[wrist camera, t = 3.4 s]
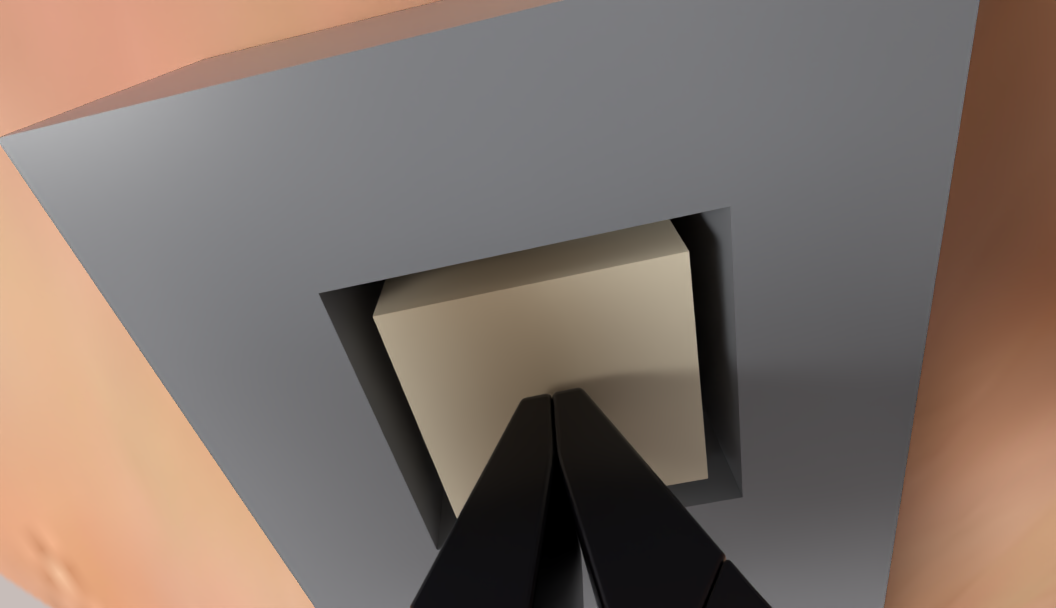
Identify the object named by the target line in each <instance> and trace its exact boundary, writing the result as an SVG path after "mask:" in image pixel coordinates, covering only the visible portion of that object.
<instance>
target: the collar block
mask: <svg viewBox="0 0 1056 608" xmlns="http://www.w3.org/2000/svg"><path fill="white" fill-rule="evenodd" d="M979 2H980V0H441V1H437V2H433V3H429V4H425V5H421V6H417V7H413V8H409V9H405V10H401V11H397V12H393V13H389V14H385V15H381V16H377V17H373V18H369V19H365V20H360V21H356V22H352V23H348V24H344V25H340V26H336V27H332V28H328V29H324V30H320V31H316V32H312V33H308V34H304V35H300V36H296V37H292V38H288V39H284V40H280V41H276V42H272V43H268V44H264V45H260V46H255V47H251V48H247V49H243V50H239V51H235V52H231V53H227V54H223V55H219V56H215V57H211V58H207V59H203V60H200V61H198V62H195V63H192V64H190V65H187V66H185V67H182V68H179V69H177V70H174V71H172V72H169V73H166V74H164V75H161V76H158V77H156V78H153V79H151V80H148V81H145V82H143V83H140V84H138V85H135V86H132V87H130V88H127V89H124V90H122V91H119V92H117V93H114V94H111V95H109V96H106V97H103V98H101V99H98V100H96V101H93V102H90V103H88V104H85V105H83V106H80V107H77V108H75V109H72V110H69V111H67V112H64V113H62V114H59V115H56V116H54V117H51V118H49V119H46V120H43V121H41V122H38V123H35V124H33V125H30V126H28V127H25V128H22V129H20V130H17V131H14V132H12V133H9V134H7V135H4V136H1V137H0V145H1V146H2V148H3V149H4V151H5V152H6V154H7V155H8V157H9V158H10V160H11V161H12V163H13V164H14V165H15V167H16V168H17V170H18V171H19V173H20V174H21V176H22V177H23V179H24V180H25V182H26V183H27V185H28V186H29V188H30V189H31V190H32V192H33V193H34V195H35V196H36V198H37V199H38V201H39V202H40V204H41V205H42V207H43V208H44V210H45V211H46V213H47V214H48V215H49V217H50V218H51V220H52V221H53V223H54V224H55V226H56V227H57V229H58V230H59V232H60V233H61V235H62V236H63V238H64V239H65V241H66V242H67V243H68V245H69V246H70V248H71V249H72V251H73V252H74V254H75V255H76V257H77V258H78V260H79V261H80V263H81V264H82V266H83V267H84V268H85V270H86V271H87V273H88V274H89V276H90V277H91V279H92V280H93V282H94V283H95V285H96V286H97V288H98V289H99V291H100V292H101V293H102V295H103V296H104V298H105V299H106V301H107V302H108V304H109V305H110V307H111V308H112V310H113V311H114V313H115V314H116V316H117V317H118V318H119V320H120V321H121V323H122V324H123V326H124V327H125V329H126V330H127V332H128V333H129V335H130V336H131V338H132V339H133V341H134V342H135V343H136V345H137V346H138V348H139V349H140V351H141V352H142V354H143V355H144V357H145V358H146V360H147V361H148V363H149V364H150V366H151V367H152V368H153V370H154V371H155V373H156V374H157V376H158V377H159V379H160V380H161V382H162V383H163V385H164V386H165V388H166V389H167V391H168V392H169V393H170V395H171V396H172V398H173V399H174V401H175V402H176V404H177V405H178V407H179V408H180V410H181V411H182V413H183V414H184V416H185V417H186V418H187V420H188V421H189V423H190V424H191V426H192V427H193V429H194V430H195V432H196V433H197V435H198V436H199V438H200V439H201V441H202V442H203V443H204V445H205V446H206V448H207V449H208V451H209V452H210V454H211V455H212V457H213V458H214V460H215V461H216V463H217V464H218V466H219V467H220V468H221V470H222V471H223V473H224V474H225V476H226V477H227V479H228V480H229V482H230V483H231V485H232V486H233V488H234V489H235V491H236V492H237V493H238V495H239V496H240V498H241V499H242V501H243V502H244V504H245V505H246V507H247V508H248V510H249V511H250V513H251V514H252V516H253V517H254V518H255V520H256V521H257V523H258V524H259V526H260V527H261V529H262V530H263V532H264V533H265V535H266V536H267V538H268V539H269V541H270V542H271V543H272V545H273V546H274V548H275V549H276V551H277V552H278V554H279V555H280V557H281V558H282V560H283V561H284V563H285V564H286V566H287V567H288V569H289V570H290V571H291V573H292V574H293V576H294V577H295V579H296V580H297V582H298V583H299V585H300V586H301V588H302V589H303V591H304V592H305V594H306V595H307V596H308V598H309V599H310V601H311V602H312V604H313V605H314V607H315V608H410V605H411V604H412V602H413V600H414V598H415V596H416V594H417V592H418V591H419V589H420V587H421V585H422V583H423V581H424V579H425V577H426V576H427V574H428V572H429V570H430V568H431V566H432V564H433V563H434V561H435V559H436V557H437V555H438V553H439V551H440V550H441V548H442V546H443V544H444V542H445V540H446V538H447V537H448V535H449V533H450V531H451V529H452V527H453V525H454V523H455V522H456V520H457V518H456V516H455V513H454V511H453V508H452V506H451V504H450V501H449V499H448V496H447V494H446V492H445V489H444V487H443V484H442V482H441V480H440V477H439V475H438V472H437V470H436V468H435V465H434V463H433V460H432V458H431V456H430V453H429V451H428V448H427V446H426V443H425V441H424V439H423V436H422V434H421V431H420V429H419V427H418V424H417V422H416V419H415V417H414V415H413V412H412V410H411V407H410V405H409V403H408V400H407V398H406V395H405V393H404V391H403V388H402V386H401V383H400V381H399V379H398V376H397V374H396V371H395V369H394V367H393V364H392V362H391V359H390V357H389V355H388V352H387V350H386V347H385V345H384V343H383V340H382V338H381V335H380V333H379V331H378V328H377V326H376V323H375V321H374V319H373V314H374V311H375V308H376V306H377V303H378V300H379V297H380V294H381V291H382V289H383V286H384V283H385V280H386V279H389V278H393V277H398V276H403V275H408V274H412V273H417V272H422V271H427V270H431V269H436V268H441V267H445V266H450V265H455V264H460V263H464V262H469V261H474V260H479V259H483V258H488V257H493V256H498V255H502V254H507V253H512V252H516V251H521V250H526V249H531V248H535V247H540V246H545V245H550V244H554V243H559V242H564V241H569V240H573V239H578V238H583V237H588V236H592V235H597V234H602V233H606V232H611V231H616V230H621V229H625V228H630V227H635V226H640V225H644V224H649V223H654V222H659V221H663V220H668V219H670V221H671V222H672V224H673V226H674V227H675V229H676V231H677V232H678V234H679V236H680V237H681V239H682V240H683V242H684V244H685V245H686V247H687V249H688V250H689V256H690V268H691V280H692V292H693V304H694V316H695V327H696V339H697V351H698V363H699V375H700V386H701V398H702V410H703V422H704V434H705V446H706V457H707V469H708V479H702V480H696V481H691V482H685V483H679V484H674V485H668V486H667V487H668V488H669V490H670V491H671V492H672V493H673V494H674V495H675V497H676V498H677V499H678V500H679V501H680V502H681V504H682V505H683V506H684V507H685V508H686V509H687V511H688V512H689V513H690V514H691V515H692V516H693V518H694V519H695V520H696V521H697V522H698V523H699V525H700V526H701V527H702V528H703V529H704V530H705V532H706V533H707V534H708V535H709V536H710V537H711V539H712V540H713V541H714V542H715V543H716V544H717V546H718V547H719V548H720V549H721V550H722V551H723V553H724V554H725V555H726V560H730V561H732V562H733V564H734V565H735V566H736V567H737V568H738V569H739V571H740V572H741V573H742V574H743V575H744V576H745V578H746V579H747V580H748V581H749V582H750V583H751V585H752V586H753V587H754V588H755V589H756V590H757V591H758V592H759V594H760V595H761V596H762V597H763V598H764V599H765V600H766V601H767V602H768V603H769V604H770V606H771V607H772V608H884V603H885V597H886V591H887V584H888V578H889V572H890V565H891V559H892V553H893V546H894V540H895V534H896V527H897V521H898V515H899V508H900V502H901V496H902V489H903V483H904V477H905V470H906V464H907V458H908V451H909V445H910V439H911V432H912V426H913V420H914V413H915V407H916V401H917V394H918V388H919V382H920V375H921V369H922V363H923V356H924V350H925V344H926V337H927V331H928V325H929V318H930V312H931V306H932V299H933V293H934V287H935V280H936V274H937V268H938V261H939V255H940V249H941V242H942V236H943V230H944V223H945V217H946V211H947V204H948V198H949V192H950V185H951V179H952V173H953V166H954V160H955V154H956V147H957V141H958V135H959V128H960V122H961V116H962V109H963V103H964V97H965V90H966V84H967V78H968V71H969V65H970V59H971V52H972V46H973V40H974V33H975V27H976V21H977V14H978V8H979ZM580 548H581V546H580ZM581 556H582V572H583V600H584V608H597V604H596V601H595V597H594V594H593V590H592V587H591V583H590V580H589V576H588V573H587V569H586V565H585V561H584V558H583V554H582V550H581Z"/></svg>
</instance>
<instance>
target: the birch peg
mask: <svg viewBox="0 0 1056 608" xmlns="http://www.w3.org/2000/svg"><path fill="white" fill-rule="evenodd" d="M373 319H374V321H375V323H376V326H377V328H378V331H379V333H380V335H381V338H382V340H383V343H384V345H385V347H386V350H387V352H388V355H389V357H390V359H391V362H392V364H393V367H394V369H395V371H396V374H397V376H398V379H399V381H400V383H401V386H402V388H403V391H404V393H405V395H406V398H407V400H408V403H409V405H410V407H411V410H412V412H413V415H414V417H415V419H416V422H417V424H418V427H419V429H420V431H421V434H422V436H423V439H424V441H425V443H426V446H427V448H428V451H429V453H430V456H431V458H432V460H433V463H434V465H435V468H436V470H437V472H438V475H439V477H440V480H441V482H442V484H443V487H444V489H445V492H446V494H447V496H448V499H449V501H450V504H451V506H452V508H453V511H454V513H455V516H456V518H458V516H459V514H460V512H461V510H462V509H463V507H464V505H465V503H466V501H467V499H468V497H469V496H470V494H471V492H472V490H473V488H474V486H475V484H476V482H477V481H478V479H479V477H480V475H481V473H482V471H483V469H484V468H485V466H486V464H487V462H488V460H489V458H490V456H491V455H492V453H493V451H494V449H495V447H496V445H497V443H498V442H499V440H500V438H501V436H502V434H503V432H504V430H505V428H506V427H507V425H508V423H509V421H510V419H511V417H512V415H513V414H514V412H515V410H516V408H517V406H518V404H519V402H520V401H521V400H522V399H523V398H526V397H530V396H536V395H541V394H550V395H551V396H552V397H553V394H554V393H555V392H557V391H562V390H567V389H572V388H582V389H583V390H585V392H586V393H587V394H588V395H589V396H590V397H591V399H592V400H593V401H594V402H595V403H596V404H597V406H598V407H599V408H600V409H601V410H602V411H603V413H604V414H605V415H606V416H607V417H608V418H609V420H610V421H611V422H612V423H613V424H614V425H615V427H616V428H617V429H618V430H619V431H620V432H621V434H622V435H623V436H624V437H625V438H626V439H627V441H628V442H629V443H630V444H631V445H632V446H633V448H634V449H635V450H636V451H637V452H638V453H639V455H640V456H641V457H642V458H643V459H644V460H645V462H646V463H647V464H648V465H649V466H650V467H651V469H652V470H653V471H654V472H655V473H656V474H657V476H658V477H659V478H660V479H661V480H662V481H663V483H664V484H665V485H666V486H668V485H674V484H679V483H685V482H691V481H696V480H702V479H708V469H707V457H706V446H705V434H704V422H703V410H702V398H701V386H700V375H699V363H698V351H697V339H696V327H695V316H694V304H693V292H692V280H691V268H690V256H689V250H688V249H687V247H686V245H685V244H684V242H683V240H682V239H681V237H680V236H679V234H678V232H677V231H676V229H675V227H674V226H673V224H672V222H671V221H670V219H668V220H663V221H659V222H654V223H649V224H644V225H640V226H635V227H630V228H625V229H621V230H616V231H611V232H606V233H602V234H597V235H592V236H588V237H583V238H578V239H573V240H569V241H564V242H559V243H554V244H550V245H545V246H540V247H535V248H531V249H526V250H521V251H516V252H512V253H507V254H502V255H498V256H493V257H488V258H483V259H479V260H474V261H469V262H464V263H460V264H455V265H450V266H445V267H441V268H436V269H431V270H427V271H422V272H417V273H412V274H408V275H403V276H398V277H393V278H389V279H386V280H385V283H384V286H383V289H382V291H381V294H380V297H379V300H378V303H377V306H376V308H375V311H374V314H373Z"/></svg>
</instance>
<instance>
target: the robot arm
mask: <svg viewBox="0 0 1056 608" xmlns="http://www.w3.org/2000/svg"><path fill="white" fill-rule="evenodd" d="M580 546H581V548H580ZM581 550H582V554H583V558H584V561H585V565H586V569H587V573H588V576H589V580H590V583H591V587H592V590H593V594H594V597H595V601H596V604H597V608H772V607H771V606H770V604H769V603H768V602H767V601H766V600H765V599H764V598H763V597H762V596H761V595H760V594H759V592H758V591H757V590H756V589H755V588H754V587H753V586H752V585H751V583H750V582H749V581H748V580H747V579H746V578H745V576H744V575H743V574H742V573H741V572H740V571H739V569H738V568H737V567H736V566H735V565H734V564H733V562H732V561H730V560H726V555H725V554H724V553H723V551H722V550H721V549H720V548H719V547H718V546H717V544H716V543H715V542H714V541H713V540H712V539H711V537H710V536H709V535H708V534H707V533H706V532H705V530H704V529H703V528H702V527H701V526H700V525H699V523H698V522H697V521H696V520H695V519H694V518H693V516H692V515H691V514H690V513H689V512H688V511H687V509H686V508H685V507H684V506H683V505H682V504H681V502H680V501H679V500H678V499H677V498H676V497H675V495H674V494H673V493H672V492H671V491H670V490H669V488H668V487H667V486H666V485H665V484H664V483H663V481H662V480H661V479H660V478H659V477H658V476H657V474H656V473H655V472H654V471H653V470H652V469H651V467H650V466H649V465H648V464H647V463H646V462H645V460H644V459H643V458H642V457H641V456H640V455H639V453H638V452H637V451H636V450H635V449H634V448H633V446H632V445H631V444H630V443H629V442H628V441H627V439H626V438H625V437H624V436H623V435H622V434H621V432H620V431H619V430H618V429H617V428H616V427H615V425H614V424H613V423H612V422H611V421H610V420H609V418H608V417H607V416H606V415H605V414H604V413H603V411H602V410H601V409H600V408H599V407H598V406H597V404H596V403H595V402H594V401H593V400H592V399H591V397H590V396H589V395H588V394H587V393H586V392H585V390H583V389H582V388H572V389H567V390H562V391H557V392H555V393H554V394H553V397H552V396H551V395H550V394H541V395H536V396H530V397H526V398H523V399H522V400H521V401H520V402H519V404H518V406H517V408H516V410H515V412H514V414H513V415H512V417H511V419H510V421H509V423H508V425H507V427H506V428H505V430H504V432H503V434H502V436H501V438H500V440H499V442H498V443H497V445H496V447H495V449H494V451H493V453H492V455H491V456H490V458H489V460H488V462H487V464H486V466H485V468H484V469H483V471H482V473H481V475H480V477H479V479H478V481H477V482H476V484H475V486H474V488H473V490H472V492H471V494H470V496H469V497H468V499H467V501H466V503H465V505H464V507H463V509H462V510H461V512H460V514H459V516H458V518H457V520H456V522H455V523H454V525H453V527H452V529H451V531H450V533H449V535H448V537H447V538H446V540H445V542H444V544H443V546H442V548H441V550H440V551H439V553H438V555H437V557H436V559H435V561H434V563H433V564H432V566H431V568H430V570H429V572H428V574H427V576H426V577H425V579H424V581H423V583H422V585H421V587H420V589H419V591H418V592H417V594H416V596H415V598H414V600H413V602H412V604H411V605H410V608H584V600H583V572H582V556H581Z"/></svg>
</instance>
